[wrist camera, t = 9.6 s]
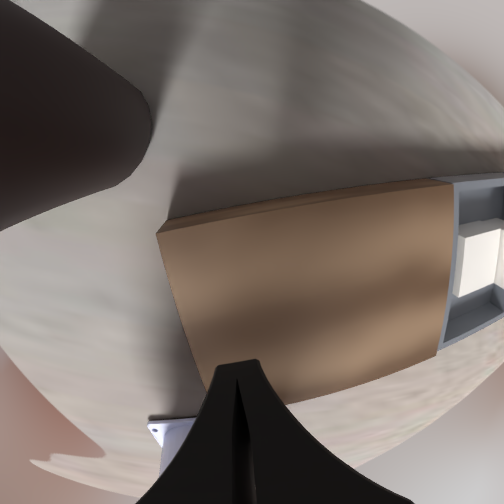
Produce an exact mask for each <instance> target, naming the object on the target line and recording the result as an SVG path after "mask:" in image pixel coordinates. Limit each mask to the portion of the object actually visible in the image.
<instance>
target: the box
mask: <svg viewBox="0 0 504 504" xmlns="http://www.w3.org/2000/svg"><path fill="white" fill-rule="evenodd" d="M429 179H431V180H436V181H441V182H446V183H450V184H454V228H453V247H452V260H451V271H450V280H449V288H448V295H447V302H446V308H445V314H444V320H443V325H442V330H441V335H440V340H439V344H438V349H437V351H439V350H441V349H443V348H445V347H447V346H449V345H452V344H454V343H456V342H458V341H460V340H462V339H464V338H466V337H468V336H470V335H472V334H474V333H476V332H478V331H479V330H481V329H483V328H485V327H487V326H489V325H490V324H492V323H494V322H496V321H498V320H499V319H501V318H503V317H504V289H503V288H501V287H499V286H498V285H496V284H495V283H492V284H490V285H487V286H485V287H483V288H481V289H478V290H476V291H473V292H471V293H469V294H466V295H464V296H461V297H459V298H458V297H457V296H455V295H454V294H453V293H452V292H453V285H454V277H455V268H456V258H457V245H458V227H459V225H461V224H466V223H470V222H475V221H479V220H480V221H485V220H489V219H494V218H499V219H502V220H504V172H496V173H481V174H468V175H456V176H445V177H434V178H429Z"/></svg>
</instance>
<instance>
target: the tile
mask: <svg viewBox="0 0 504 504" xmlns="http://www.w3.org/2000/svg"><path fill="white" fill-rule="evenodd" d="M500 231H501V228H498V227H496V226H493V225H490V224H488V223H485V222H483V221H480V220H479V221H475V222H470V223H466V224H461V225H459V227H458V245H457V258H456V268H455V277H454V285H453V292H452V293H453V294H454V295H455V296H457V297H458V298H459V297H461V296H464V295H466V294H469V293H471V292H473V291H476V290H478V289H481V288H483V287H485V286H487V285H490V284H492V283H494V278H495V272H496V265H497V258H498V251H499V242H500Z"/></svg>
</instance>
